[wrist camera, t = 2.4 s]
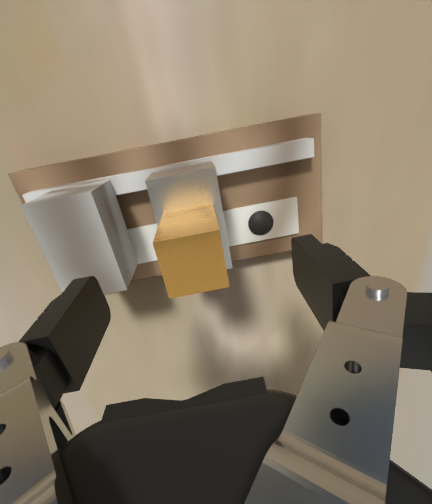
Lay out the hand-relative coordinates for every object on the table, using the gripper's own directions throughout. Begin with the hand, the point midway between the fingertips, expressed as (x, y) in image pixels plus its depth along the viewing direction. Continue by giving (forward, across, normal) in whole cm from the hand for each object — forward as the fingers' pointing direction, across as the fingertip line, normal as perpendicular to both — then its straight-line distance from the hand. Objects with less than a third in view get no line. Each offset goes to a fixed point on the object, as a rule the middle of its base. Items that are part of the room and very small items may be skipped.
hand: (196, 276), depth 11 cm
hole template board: (+12, +1, 0) cm, 12 cm away
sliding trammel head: (+10, 0, 0) cm, 10 cm away
